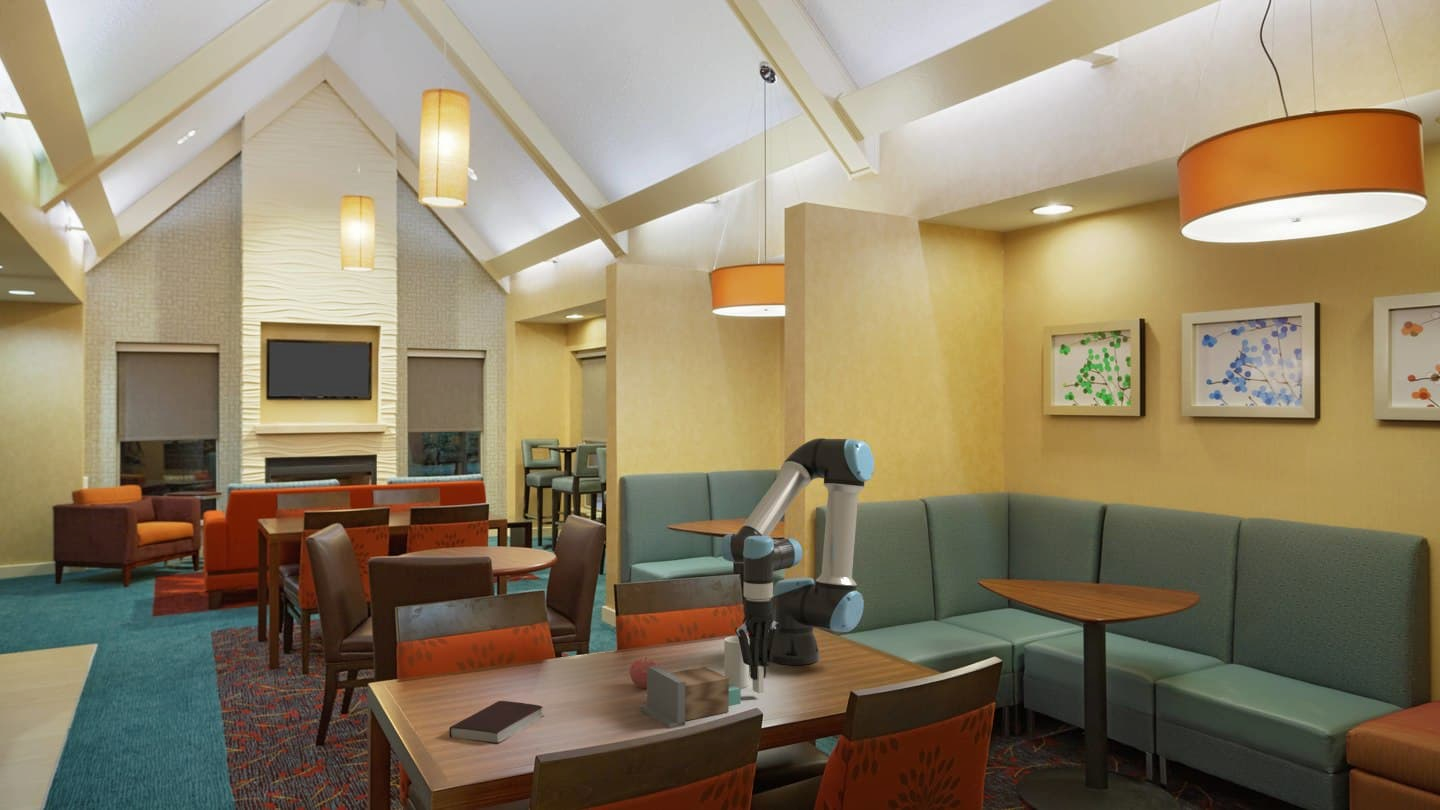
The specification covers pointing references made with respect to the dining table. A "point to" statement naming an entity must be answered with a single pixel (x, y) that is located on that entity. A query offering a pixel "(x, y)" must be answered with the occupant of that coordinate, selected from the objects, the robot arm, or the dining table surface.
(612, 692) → the dining table surface
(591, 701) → the dining table surface
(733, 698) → the teal bar
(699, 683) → the block
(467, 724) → the book
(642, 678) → the apple
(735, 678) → the mug
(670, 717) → the wall
